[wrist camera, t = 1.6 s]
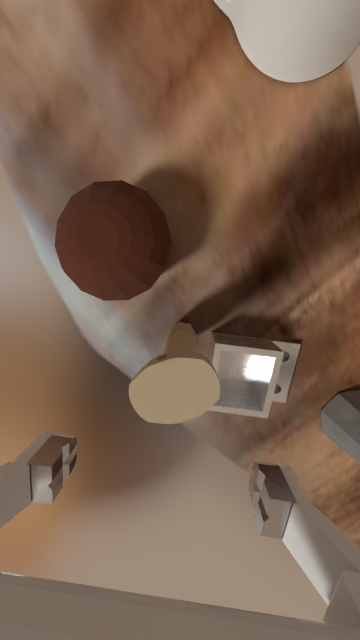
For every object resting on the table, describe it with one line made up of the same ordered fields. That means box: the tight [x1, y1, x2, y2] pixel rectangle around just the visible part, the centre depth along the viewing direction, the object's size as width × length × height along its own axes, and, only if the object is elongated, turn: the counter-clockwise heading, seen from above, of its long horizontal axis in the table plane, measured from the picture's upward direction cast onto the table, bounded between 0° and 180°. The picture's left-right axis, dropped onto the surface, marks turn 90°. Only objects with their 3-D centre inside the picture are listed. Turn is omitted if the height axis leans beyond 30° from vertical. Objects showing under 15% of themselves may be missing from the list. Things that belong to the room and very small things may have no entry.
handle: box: [129, 321, 220, 424], centre depth 21 cm, size 5×6×15 cm
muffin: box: [55, 180, 171, 300], centre depth 22 cm, size 12×11×10 cm
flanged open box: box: [208, 332, 301, 418], centre depth 27 cm, size 9×12×5 cm
